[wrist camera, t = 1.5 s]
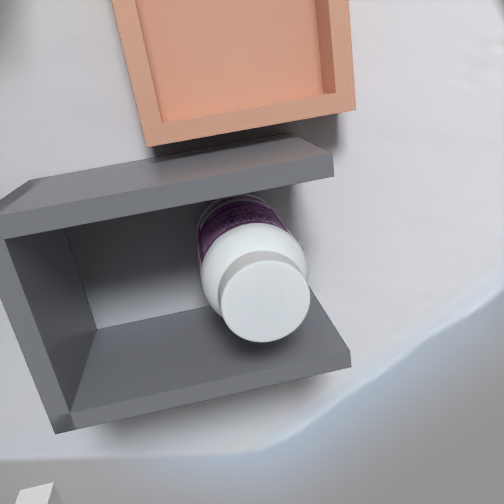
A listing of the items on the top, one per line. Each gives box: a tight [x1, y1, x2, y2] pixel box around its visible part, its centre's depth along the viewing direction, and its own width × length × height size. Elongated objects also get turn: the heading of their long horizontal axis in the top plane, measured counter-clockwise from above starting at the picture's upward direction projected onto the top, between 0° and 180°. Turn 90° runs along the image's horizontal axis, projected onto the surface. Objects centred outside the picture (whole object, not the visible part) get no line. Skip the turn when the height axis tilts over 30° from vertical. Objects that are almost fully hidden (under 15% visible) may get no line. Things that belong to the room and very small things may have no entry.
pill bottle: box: [196, 193, 310, 342], centre depth 24 cm, size 5×5×10 cm
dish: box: [112, 0, 356, 147], centre depth 23 cm, size 11×11×3 cm
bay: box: [0, 133, 351, 434], centre depth 25 cm, size 15×11×8 cm
